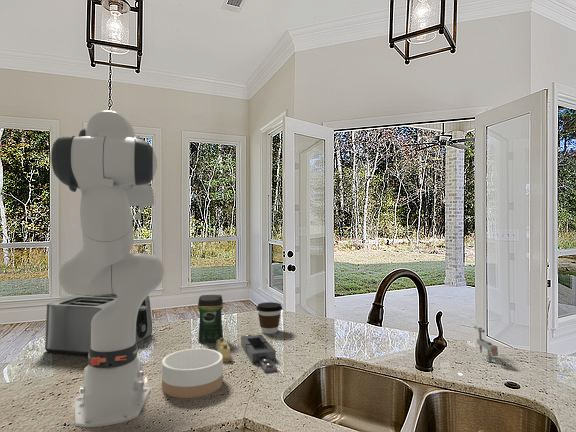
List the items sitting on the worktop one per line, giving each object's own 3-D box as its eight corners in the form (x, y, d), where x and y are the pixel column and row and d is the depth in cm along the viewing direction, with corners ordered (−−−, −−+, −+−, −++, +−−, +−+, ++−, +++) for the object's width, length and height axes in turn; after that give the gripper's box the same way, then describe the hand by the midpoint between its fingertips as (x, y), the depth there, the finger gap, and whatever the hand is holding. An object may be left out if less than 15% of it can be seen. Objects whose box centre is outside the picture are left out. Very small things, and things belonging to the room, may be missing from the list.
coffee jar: (224, 338, 156) (224, 292, 156) (221, 345, 148) (221, 296, 148) (200, 339, 155) (200, 292, 155) (196, 345, 147) (196, 297, 147)
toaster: (111, 363, 130) (111, 307, 130) (31, 356, 136) (31, 302, 136) (157, 337, 158) (157, 291, 158) (89, 332, 165) (89, 288, 165)
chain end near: (282, 372, 123) (282, 359, 123) (258, 375, 120) (258, 362, 120) (268, 354, 139) (268, 342, 139) (246, 356, 136) (246, 345, 136)
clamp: (498, 365, 128) (497, 334, 129) (492, 365, 128) (490, 334, 129) (478, 352, 143) (477, 325, 144) (472, 352, 143) (471, 325, 144)
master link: (230, 363, 130) (230, 346, 130) (221, 364, 129) (221, 347, 129) (224, 352, 141) (224, 336, 141) (216, 353, 140) (216, 337, 140)
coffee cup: (253, 330, 167) (253, 302, 167) (278, 328, 170) (278, 301, 170) (259, 338, 156) (259, 308, 156) (285, 335, 160) (285, 306, 160)
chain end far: (236, 340, 153) (236, 330, 153) (256, 338, 156) (256, 328, 156) (245, 355, 137) (245, 344, 137) (267, 353, 140) (267, 342, 140)
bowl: (198, 370, 124) (198, 344, 124) (235, 385, 114) (235, 356, 114) (149, 388, 111) (149, 359, 111) (185, 407, 100) (185, 375, 100)
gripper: (88, 177, 127) (88, 219, 127) (154, 179, 134) (154, 219, 134) (91, 179, 133) (91, 219, 133) (154, 180, 140) (154, 219, 140)
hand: (123, 219), depth 134 cm, fingers open, 8 cm apart
